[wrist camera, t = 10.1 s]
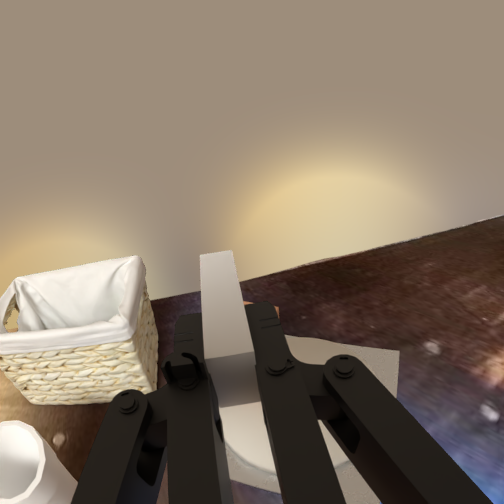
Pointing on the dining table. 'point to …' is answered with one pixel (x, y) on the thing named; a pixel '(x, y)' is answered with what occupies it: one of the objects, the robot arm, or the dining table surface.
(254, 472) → the base plate
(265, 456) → the dial
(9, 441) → the foam cup
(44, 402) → the storage basket
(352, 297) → the dining table surface
